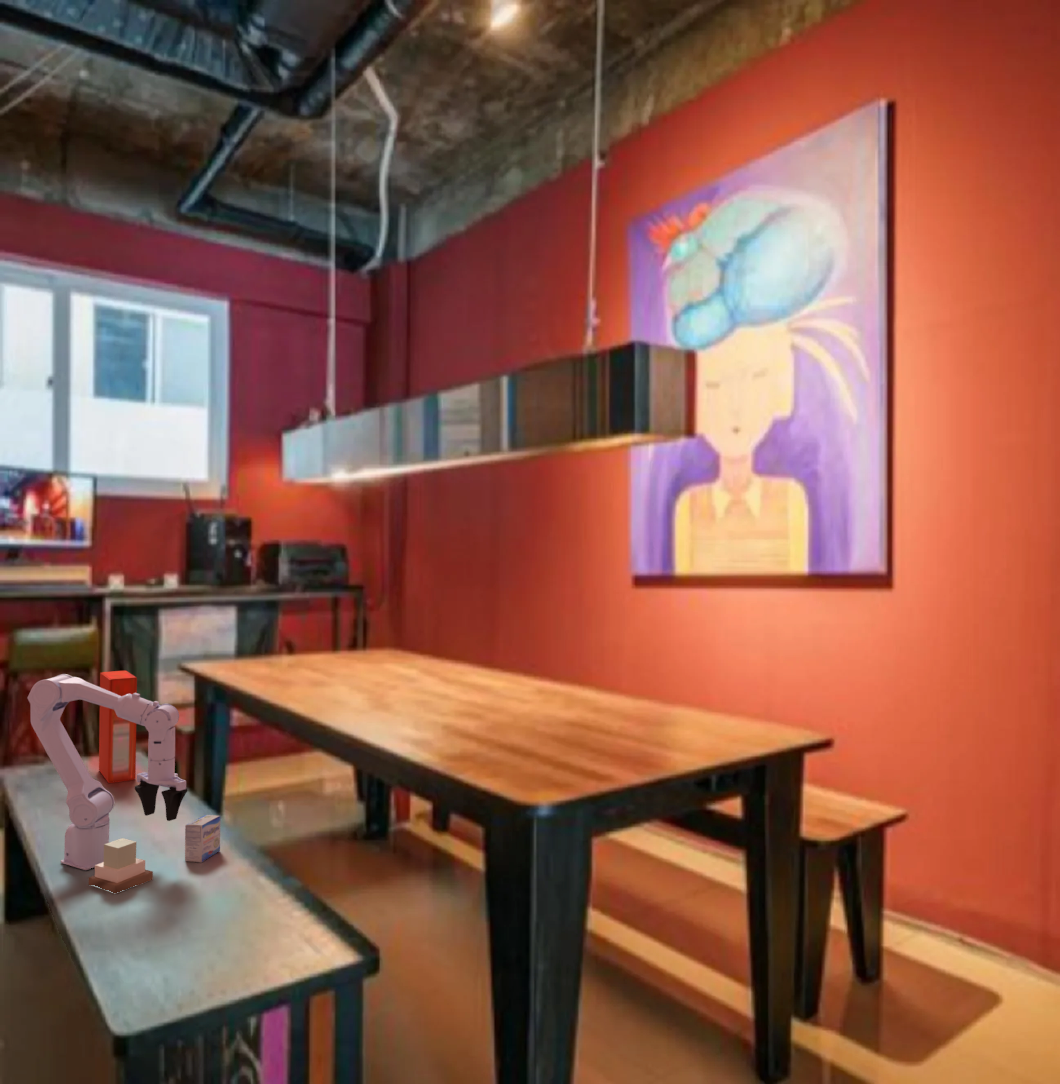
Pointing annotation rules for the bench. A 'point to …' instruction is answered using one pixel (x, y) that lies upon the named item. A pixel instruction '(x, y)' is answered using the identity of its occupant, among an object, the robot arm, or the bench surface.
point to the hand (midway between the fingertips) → (160, 817)
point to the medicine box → (202, 838)
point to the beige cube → (119, 853)
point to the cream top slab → (119, 871)
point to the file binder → (117, 731)
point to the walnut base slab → (123, 884)
